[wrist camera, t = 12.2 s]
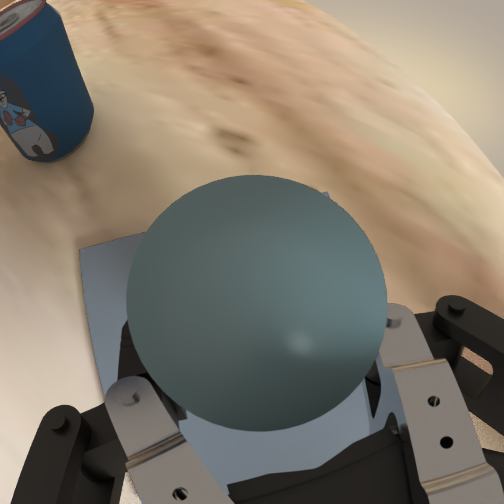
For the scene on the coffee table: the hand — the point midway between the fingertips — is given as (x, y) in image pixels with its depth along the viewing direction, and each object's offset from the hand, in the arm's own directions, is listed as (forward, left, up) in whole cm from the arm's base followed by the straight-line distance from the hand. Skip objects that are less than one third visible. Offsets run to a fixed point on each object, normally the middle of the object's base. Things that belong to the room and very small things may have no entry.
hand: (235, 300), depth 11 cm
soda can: (+10, -17, -7) cm, 21 cm away
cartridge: (0, +1, -5) cm, 5 cm away
